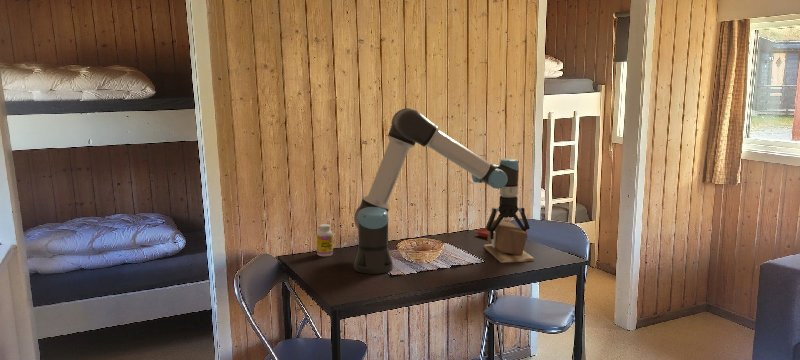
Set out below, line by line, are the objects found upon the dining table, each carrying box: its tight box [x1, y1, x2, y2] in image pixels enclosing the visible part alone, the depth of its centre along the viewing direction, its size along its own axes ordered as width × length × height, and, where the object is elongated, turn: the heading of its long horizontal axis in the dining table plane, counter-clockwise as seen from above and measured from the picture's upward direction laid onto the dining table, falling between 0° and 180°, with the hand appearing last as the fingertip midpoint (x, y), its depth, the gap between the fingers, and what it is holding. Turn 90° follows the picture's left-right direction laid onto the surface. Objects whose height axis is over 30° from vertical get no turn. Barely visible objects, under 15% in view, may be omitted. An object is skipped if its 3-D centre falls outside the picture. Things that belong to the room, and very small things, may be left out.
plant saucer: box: [475, 227, 529, 239], centre depth 296 cm, size 18×18×3 cm
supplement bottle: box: [316, 223, 334, 257], centre depth 264 cm, size 7×7×13 cm
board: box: [483, 243, 535, 263], centre depth 266 cm, size 14×24×1 cm, turn 9°
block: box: [487, 219, 528, 255], centre depth 267 cm, size 10×10×20 cm
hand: (507, 246), depth 266 cm, fingers closed on block, 11 cm apart
